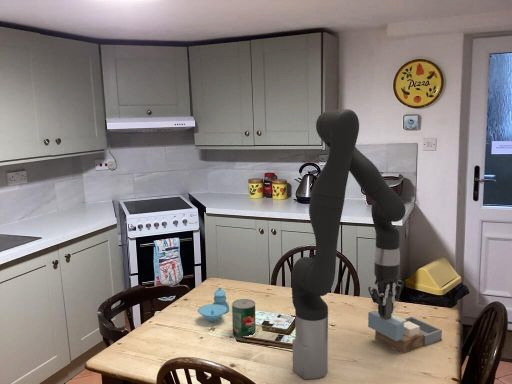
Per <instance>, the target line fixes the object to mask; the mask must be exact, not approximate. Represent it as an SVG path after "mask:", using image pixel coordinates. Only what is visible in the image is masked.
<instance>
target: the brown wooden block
mask: <svg viewBox="0 0 512 384" xmlns="http://www.w3.org/2000/svg"><path fill="white" fill-rule="evenodd" d="M374 331H375V333H374V335H375V336H374V339H376V340H377V341H379V342H381V343H383V344H385V345H386V346H388V347H390V348H392V349H394V350H395V351H398V352H400V353H401V354H406V353H409V352H411V351H415V350H417V349H419V348H422V347H424V346H423V343H424V334H422V333H420V334H417V335H414V336H412V337H408V336H406V335H404V334H403V339H401V340H398V341H395V340H393V339H391V338H389V337H387V336H385V335H383V334H381V333H379V332H378V331H376V330H374Z"/></svg>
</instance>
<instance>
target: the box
mask: <svg viewBox="0 0 512 384" xmlns="http://www.w3.org/2000/svg"><path fill="white" fill-rule="evenodd" d="M404 319H405V320H407V322H408V321H409V322H412V323H414V324H416V325H418V326H420V333H422V334H424V343H423V347H426V346H430V345H432V344H435V343H438V342H440V341H442V337H443V335H442V334H443V330H442V329H440V328H439V327H436V326H434V325H432V324H429V323H427V322H424V321H423V320H420V319H418V318H416V317H413V316H408V317H406V318H404Z"/></svg>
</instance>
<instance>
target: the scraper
mask: <svg viewBox="0 0 512 384" xmlns="http://www.w3.org/2000/svg"><path fill="white" fill-rule="evenodd" d="M381 300H382V297H381ZM385 305H386V311H385V316H381V315H379V313H378V310H376V309H375V310H371V311H368V317H367V318H368V320H367V322H368V323H367V324H368V326H367V327H368V328H370V329H372V330H374V331H375V330H376V331H378V332H379V333H381V334H383V335H385V336H387V337H389V338H391V339H393V340H395V341H398V340H401V339H403V332H404V323H402V322H400V321H398V320H396V319H393V318H391V317H393V316H392V314H393V313H392V297H391V296H389V295H388V297H387V298H386V304H385Z"/></svg>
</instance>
